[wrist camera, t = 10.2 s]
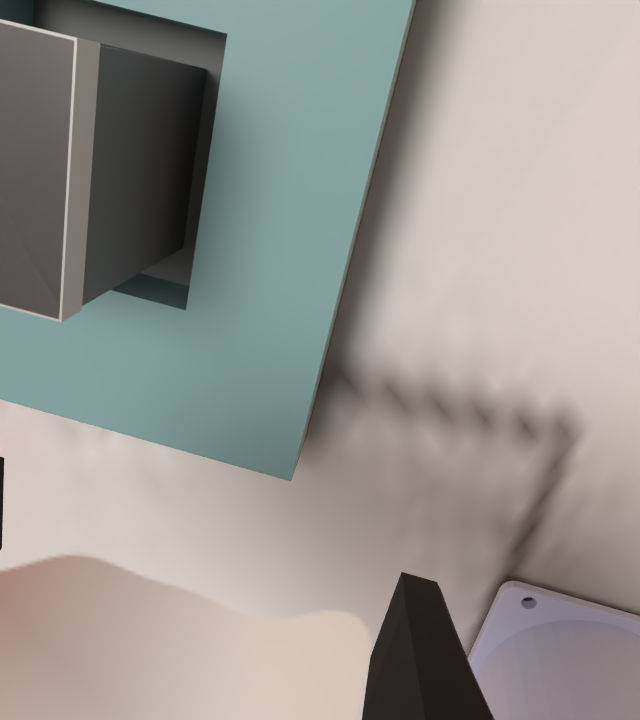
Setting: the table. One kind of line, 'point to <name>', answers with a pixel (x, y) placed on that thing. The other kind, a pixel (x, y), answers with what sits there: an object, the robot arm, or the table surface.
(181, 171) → the plug
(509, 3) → the table surface
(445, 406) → the table surface
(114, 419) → the outlet block
